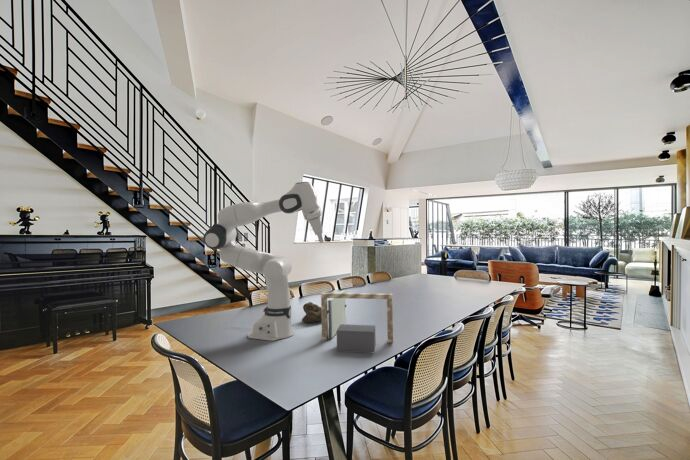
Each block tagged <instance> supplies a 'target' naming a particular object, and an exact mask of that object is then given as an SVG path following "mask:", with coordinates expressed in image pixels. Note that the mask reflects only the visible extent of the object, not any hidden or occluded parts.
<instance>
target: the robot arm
mask: <svg viewBox="0 0 690 460" xmlns="http://www.w3.org/2000/svg"><path fill="white" fill-rule="evenodd" d="M300 211H302V216H303V219H304V221H307V223H308V224H309V225H310V226H311V228H312V231H313V233H314V235H315V236H317V238H318V241H319V243H320V244H322V243H324V238H323V233H324V231H323V227H322V222H321V219H322V217H321V216H322V215H323V213H322V209H321V206H320V203H319V202H318V198H317V194H316V191H315V189H314V186H313V184H312V183H311V182H309V181H300V182H296V183H295V184H294V186H293V187H292V188H291V189H289V191H288V192H286V193H285V194H283V195H282V196H281V197H280V198H279V199H275V200H271V201H270V200H269V201H259V202H258V201H246V202H239V203H235V204H231V205H228V206H225V207H224V208H221V209H220V210H219V211H218V212H217V213H218V214H217V221H218V222H217V223H213V225H211V226H210V228H208V230H206V232H205V233H204V235H203V243H204V245H205V246H206V247H207V248H208V249H210V250H220V251H219V258H220V260H221V261H222V262H223V263H225V264H227V265H229V266H232V267H235V268H237V269H240V270H245V271H248V272H252V273H258V274H262V275H263V276H264V279H265V285H266V291H267V306H266V307H264V309H263V310H262V311H263V313H264V314H263V315H262V316H260V317H259V318H258V319H257V320H256V321H254V323H253V326H252V330H251V331H250V332H248V334H247V338H248V339H254V340H256V339H257V340H263V341H270V342H271V341H272V342H273V341H277V340H281V339H286V338H289V337H292V336H293V335H294V334H295V333H294V329H293V324H292V305H291V291H290V286H289V281H288V275H289V274H290V273H291V271H292V268H293V265H292V261H291V260H290V259H289V258H288V257H286V256H283V255H279V254H274V253H269V252H264V251H260V250H256V249H253V248H250V247H247V246H243V245H239V244H238V243H239V234H240V233H239V228H238V227H242V226H247V225H249V224H252V223H255V222H257V221H258V220H260V219H263V218H264V217H266V216H268V215H272V214H275V213H276V214H277V213H280V212H283V213H285V214H294V213H296V212H300Z"/></svg>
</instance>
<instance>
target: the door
mask: <svg viewBox="0 0 690 460" xmlns="http://www.w3.org/2000/svg"><path fill="white" fill-rule="evenodd" d="M338 293H346V290H345V289H344V290H341V291H339V292H338ZM346 308H347V304H346V298H328V299H327V310H328V339H329V340H331V339H333V338H334V336H335V335H337V329H338V327H339V326H340V324H346V321H347V319H346V317H347V316H346Z"/></svg>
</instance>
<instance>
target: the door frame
mask: <svg viewBox="0 0 690 460" xmlns="http://www.w3.org/2000/svg"><path fill="white" fill-rule="evenodd" d="M320 295H321V296H320V299H321V300H320V305H321V306H320V307H321V315H322V322H321V341H327V340H328V339H329V321H328V311H327V310H328V299H331V298H345V299H356V300H357V299H358V300H359V299H360V300H361V299H363V300H364V299H365V300H369V299H370V300H386V314H387V315H386V323H387V325H386V328H387V344H394V320H393V319H394V318H393V317H394V316H393V315H394V314H393V311H394V310H393V293H369V292H368V293H364V292H363V293H362V292H359V293H358V292H357V293H356V292H345V293H339V292H320Z"/></svg>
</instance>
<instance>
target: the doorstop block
mask: <svg viewBox="0 0 690 460" xmlns="http://www.w3.org/2000/svg"><path fill="white" fill-rule="evenodd" d="M376 341H377V340H376V324H375V325H374V324H373V325H372V324H346V323H345V324H340V326H339V327H338V329H337V333H336V351H337V352H350V353H351V352H353V353H369V352H374V353H375V350H376V345H377V344H376Z"/></svg>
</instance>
